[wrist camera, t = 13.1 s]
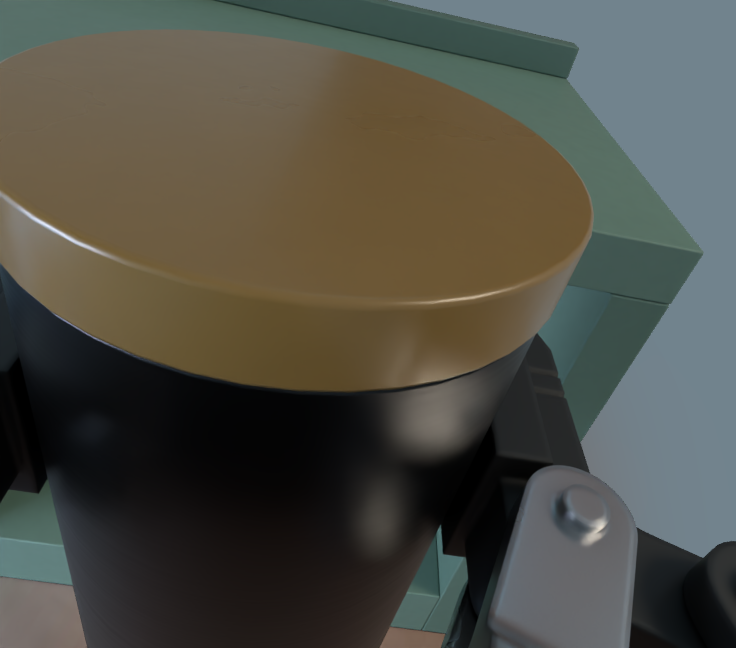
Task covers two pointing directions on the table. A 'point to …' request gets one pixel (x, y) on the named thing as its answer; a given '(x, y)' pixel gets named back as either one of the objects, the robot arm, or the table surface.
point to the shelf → (488, 83)
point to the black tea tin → (264, 320)
